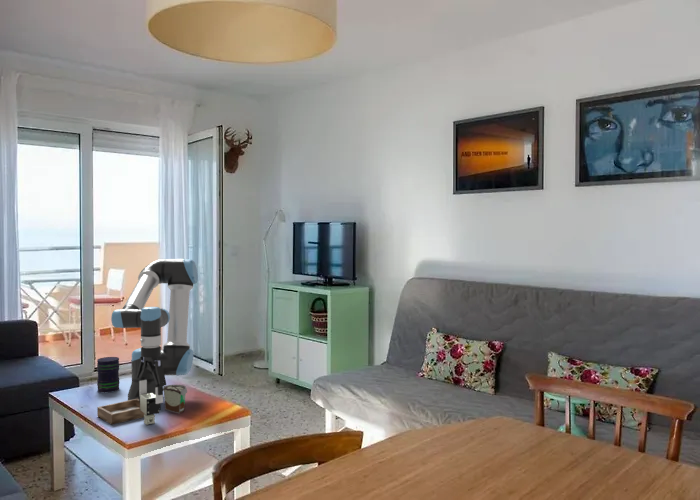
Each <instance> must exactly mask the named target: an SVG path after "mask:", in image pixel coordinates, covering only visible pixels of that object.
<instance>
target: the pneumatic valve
mask: <svg viewBox="0 0 700 500" xmlns="http://www.w3.org/2000/svg"><path fill="white" fill-rule="evenodd" d="M139 403H140V410H141V411H142V412H143V413H145V414H144V417H143V419H144V420H143V424H145V425H146V426H148V425H151V424H152V425H153V424H155V423H156V421H155V416H156V415H157V414H160V411H161V405H162V403H159V404H156V395H154V394H153V393H146V394H140V399H139Z"/></svg>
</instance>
